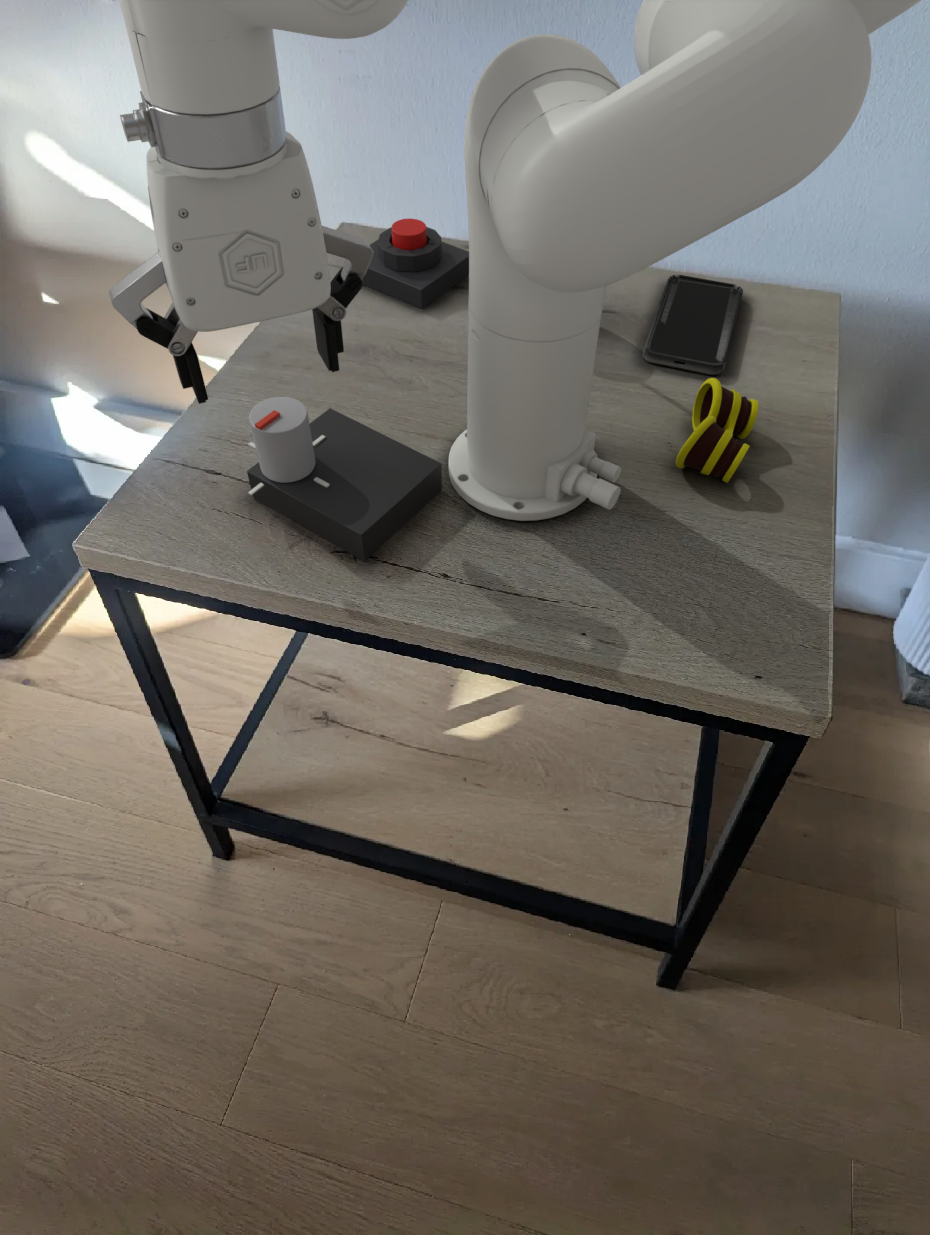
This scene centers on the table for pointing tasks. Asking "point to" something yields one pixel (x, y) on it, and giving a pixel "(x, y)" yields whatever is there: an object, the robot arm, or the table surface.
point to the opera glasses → (718, 430)
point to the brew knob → (282, 439)
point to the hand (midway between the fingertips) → (265, 376)
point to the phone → (693, 325)
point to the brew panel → (353, 486)
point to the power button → (409, 234)
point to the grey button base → (416, 269)
